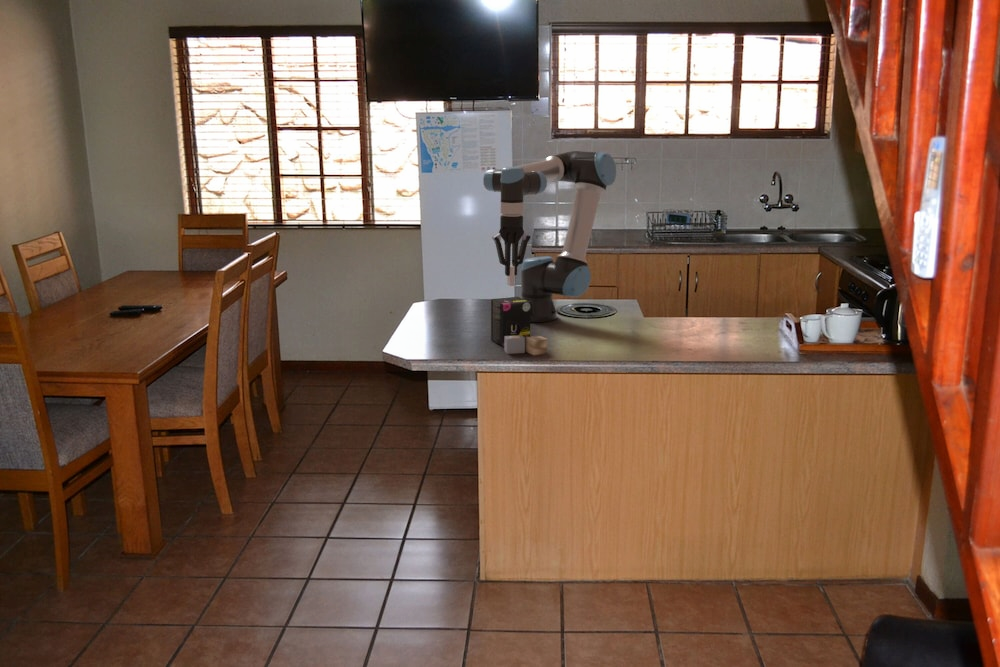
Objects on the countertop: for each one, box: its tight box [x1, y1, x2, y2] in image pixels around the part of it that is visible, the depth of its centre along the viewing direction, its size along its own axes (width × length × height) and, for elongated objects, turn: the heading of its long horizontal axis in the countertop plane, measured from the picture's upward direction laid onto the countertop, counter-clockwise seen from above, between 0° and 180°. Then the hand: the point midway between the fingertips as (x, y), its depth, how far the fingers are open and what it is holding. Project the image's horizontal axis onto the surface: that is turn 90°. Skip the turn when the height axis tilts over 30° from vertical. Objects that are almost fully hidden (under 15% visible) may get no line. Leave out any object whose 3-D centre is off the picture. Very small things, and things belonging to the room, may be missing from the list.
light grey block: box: [503, 335, 526, 355], centre depth 293 cm, size 6×4×5 cm, turn 101°
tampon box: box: [490, 296, 531, 347], centre depth 304 cm, size 11×9×15 cm
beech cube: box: [525, 335, 548, 356], centre depth 292 cm, size 5×5×5 cm
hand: (510, 284), depth 300 cm, fingers closed
